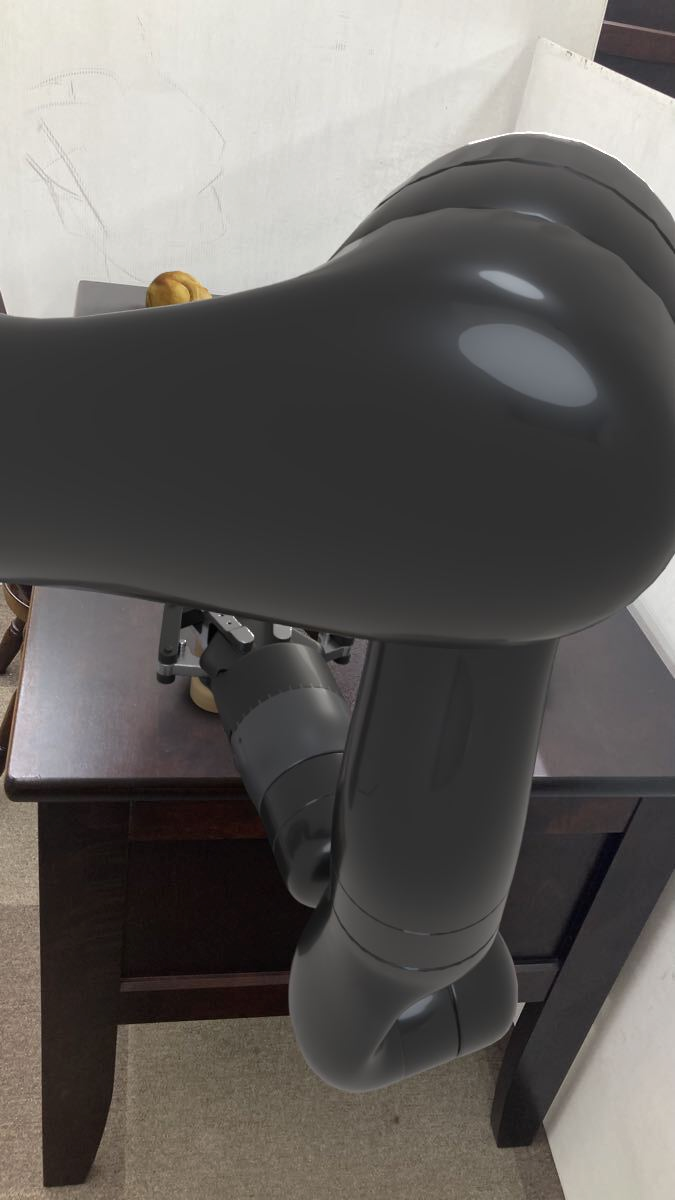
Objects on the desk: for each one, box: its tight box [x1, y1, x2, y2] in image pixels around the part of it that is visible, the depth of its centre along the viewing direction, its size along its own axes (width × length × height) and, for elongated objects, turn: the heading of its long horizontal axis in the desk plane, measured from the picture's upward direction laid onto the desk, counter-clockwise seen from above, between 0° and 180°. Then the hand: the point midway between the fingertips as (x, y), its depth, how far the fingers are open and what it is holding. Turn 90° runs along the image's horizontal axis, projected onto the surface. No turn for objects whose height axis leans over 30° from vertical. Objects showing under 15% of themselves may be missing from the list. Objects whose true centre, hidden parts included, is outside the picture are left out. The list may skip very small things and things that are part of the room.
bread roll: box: [145, 270, 213, 308], centre depth 125 cm, size 13×10×8 cm
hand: (222, 569), depth 66 cm, fingers closed on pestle, 4 cm apart
